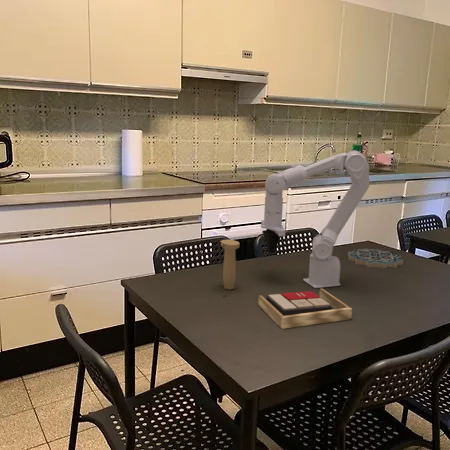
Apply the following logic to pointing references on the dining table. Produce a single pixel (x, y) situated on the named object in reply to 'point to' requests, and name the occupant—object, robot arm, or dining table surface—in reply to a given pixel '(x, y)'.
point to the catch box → (336, 314)
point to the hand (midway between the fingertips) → (271, 252)
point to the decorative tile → (375, 258)
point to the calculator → (298, 303)
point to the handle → (229, 263)
